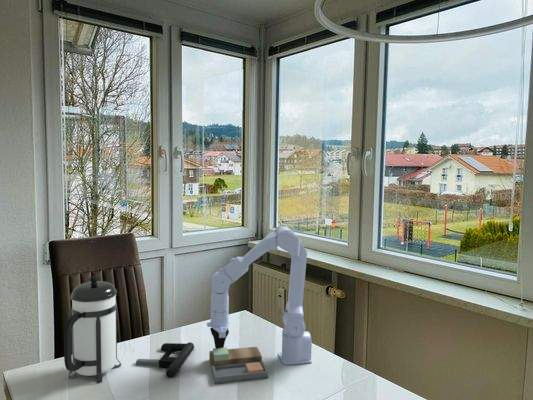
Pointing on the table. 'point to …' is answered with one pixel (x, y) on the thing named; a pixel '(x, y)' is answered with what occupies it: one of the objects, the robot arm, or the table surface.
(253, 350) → the walnut ledge
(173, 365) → the door handle
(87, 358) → the coffee press
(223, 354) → the sage tile
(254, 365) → the terracotta block
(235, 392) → the table surface
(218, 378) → the charcoal tray
